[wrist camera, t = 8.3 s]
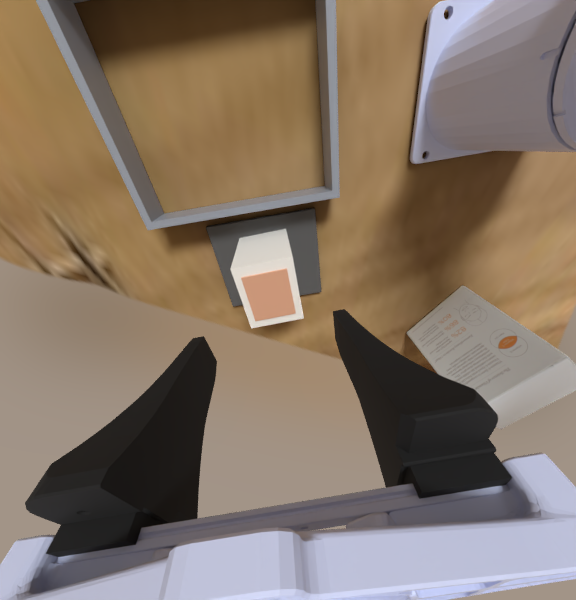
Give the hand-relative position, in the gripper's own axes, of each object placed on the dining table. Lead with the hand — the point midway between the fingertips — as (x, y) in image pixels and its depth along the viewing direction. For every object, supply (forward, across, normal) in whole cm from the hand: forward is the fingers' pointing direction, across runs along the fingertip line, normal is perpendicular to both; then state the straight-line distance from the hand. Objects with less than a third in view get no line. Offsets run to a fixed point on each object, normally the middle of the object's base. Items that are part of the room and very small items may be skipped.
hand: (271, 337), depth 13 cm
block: (+10, 0, 0) cm, 10 cm away
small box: (+11, -19, +12) cm, 24 cm away
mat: (+10, 0, 0) cm, 10 cm away
